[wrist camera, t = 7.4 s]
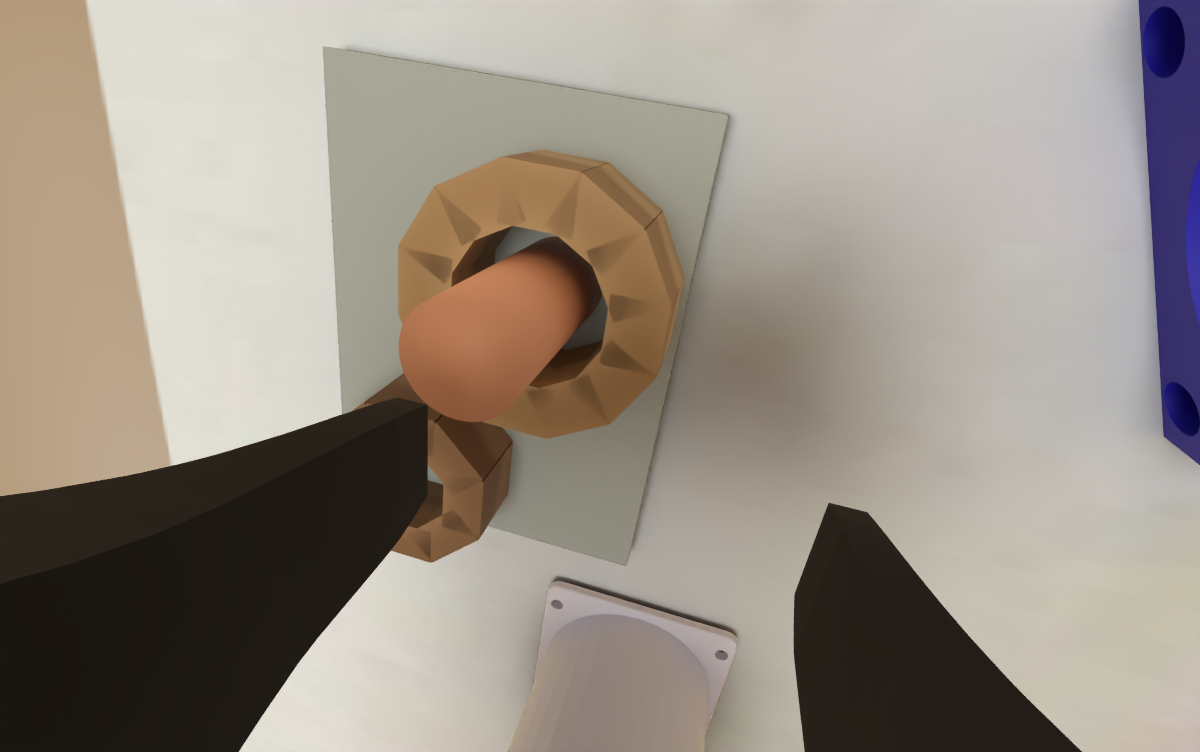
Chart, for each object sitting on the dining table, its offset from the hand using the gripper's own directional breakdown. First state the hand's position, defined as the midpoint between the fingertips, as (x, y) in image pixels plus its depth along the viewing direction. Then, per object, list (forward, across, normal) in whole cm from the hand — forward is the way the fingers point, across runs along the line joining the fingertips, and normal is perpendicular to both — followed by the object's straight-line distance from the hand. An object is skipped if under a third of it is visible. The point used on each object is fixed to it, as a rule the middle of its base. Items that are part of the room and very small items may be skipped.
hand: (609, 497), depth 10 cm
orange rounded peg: (+9, +4, -1) cm, 10 cm away
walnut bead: (+9, +8, +7) cm, 14 cm away
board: (+10, +6, +2) cm, 12 cm away
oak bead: (+9, +4, -1) cm, 10 cm away
